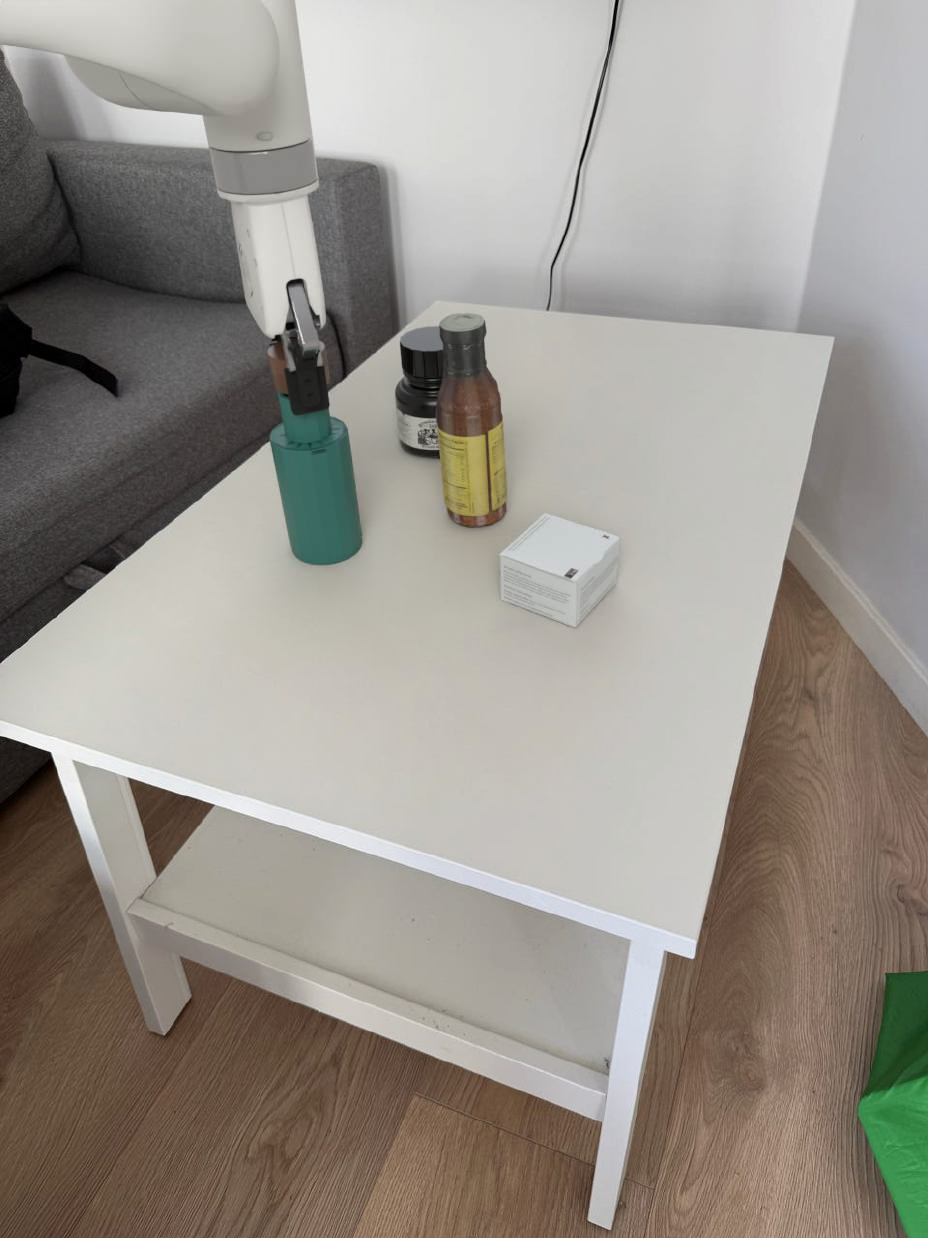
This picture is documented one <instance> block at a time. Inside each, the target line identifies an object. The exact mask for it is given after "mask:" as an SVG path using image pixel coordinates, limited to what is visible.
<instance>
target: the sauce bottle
mask: <svg viewBox="0 0 928 1238" xmlns="http://www.w3.org/2000/svg"><path fill="white" fill-rule="evenodd" d="M486 324H487V323H486V319H485V318H484V317H483V316H482V315H479V314H478V313H477V314H476V313H471V312H464V313H459V312H458V313H452V314H449V315H446V316H445V317H443V318H442V319H441V320H440V322H439V324H438V326H439V328H440V338H441V341H442V342H443V353H444V374H443V379H442V384H441V387H440V390H439V392H438V396H437V405H436V423H437V432H438V441H439V451H440V457H439V461H440V469H441V470H440V471H441V482H442V491H443V492H442V493H443V500H444V505H445V507H446V510H447V515H448V517H449V518H450V519H451V520H452V521H453V522H455V523H456V524H459V525H461V526H464V527H467V528H468V527H469V528H477V527H485V526H490V525H493V524H494V523H497V522H499V521H500V520H501V519H502V518H503V517H504V516H505V514H506V512H507V498H508V489H507V488H508V487H507V471H506V470H507V469H506V454H505V451H506V450H505V436H504V435H505V434H504V417H503V416H504V415H503V413H502V398H501V393H500V391H499V386H498V381H497V380H496V379H495V377H494V376H493V375H492V374H493V373H491V371H490V369H489V368H488V366H487V365H488V363H487V359H486V344H485V338H486V335H487V326H486Z"/></svg>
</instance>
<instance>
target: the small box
mask: <svg viewBox="0 0 928 1238" xmlns="http://www.w3.org/2000/svg"><path fill="white" fill-rule="evenodd" d="M621 539H622V538H621V537H620V536H618V535H616V534H613V533H611V532H608V531H604V530H601V529H598V528H595V527H591V526H588V525H584V524H582V523H578V522H575V521H572V520H569V519H565V518H562V517H559V516H557V515H553V514H550V513H547V512H544V513H542V514H541V515H540V516H539V517H538V518H537V519H536V520H535V521H534V522H532V524H530V526H528V527H527V528H526V529H525V530H524V531H523V532H521V534H520V535H518V536H517V537H516V539H514V540H513V541H512V542H511V543H509V545H508V546H506V547H505V548H504V549H503V550H502V551H501V552H500V553H499V554H498V555H499V591H500V592H499V593H500V594H499V595H500V600H501V601H503V602H506V603H509V604H511V605H513V606H516V607H519V608H521V609H524V610H527V611H530V612H532V613H535V614H537V615H539V616H543V617H545V618H548V619H550V620H553V621H556V622H558V623H561V624H564V625H566V626H569V627H572V628H577V627H578V626H579V624H580V623H582V622H583V620H584V619H586V617H587V616H588V615H589V614H590V613H591V612H592V610H593V609H595V607H596V606H597V605H598V604H599V603H600V602H601V601H602V600H603V598H604V597H605V596H606V595H607V594H608V593H609V592H610V591H611V589H613V587H614V586H615V585H616V584H617V583H618V577H619V568H620V567H619V566H620V555H621V553H620V552H621V542H622V541H621Z"/></svg>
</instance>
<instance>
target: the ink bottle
mask: <svg viewBox="0 0 928 1238" xmlns="http://www.w3.org/2000/svg"><path fill="white" fill-rule="evenodd" d="M399 349H400V360H401V361H400V362H401V369H402V374H403V377H402V378H401V379H400V380H399V381H398V383H397V384H396V387H395V390H394V398H395V400H394V401H395V413H396V422H397V423H396V425H397V434H398V440H399V443H400V445H401V447H402V448H403V449H404V450H405V451H406V452H408V453H410V454H412V455H416V456H419V457H425V458H427V457H428V458H440V451H439V441H438V432H437V423H436V405H437V396H438V392H439V390H440V387H441V384H442V379H443V374H444V353H443V342H442V341H441V338H440V328H439V325H436V326H435V325H433V326H429V325H427V326H423V327H417V328H414V329H411V330H409V331H406V332H405V333H404V334H403V335H401V336H400V340H399Z"/></svg>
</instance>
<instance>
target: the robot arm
mask: <svg viewBox="0 0 928 1238" xmlns="http://www.w3.org/2000/svg"><path fill="white" fill-rule="evenodd" d="M0 45H1V46H7V47H8V46H9V47H15V48H24V49H31V50H35V51H36V50H37V51H42V52H48V53H52V54H57V55H61V56H63V57H64V58H65V59H64V60H65V61H66V64H67V65H68V67H69V69H70V71H72V73H73V75H74V76H75V77H76V78H77V80H78V81H79V82H80V83H81V84H82V85H83V86H84V87H85V88H86V89H88V90H89V91H90V92H91V93H92V94H94V95H95V96H97V97H98V98H100V99H102V100H104V101H106V102H109V103H112V104H114V105H117V106H120V107H123V108H129V109H135V110H144V111H152V112H160V113H161V112H163V113H179V114H186V115H197V116H202V121H203V126H204V131H205V136H206V140H207V141H206V142H207V146H208V151H209V156H210V161H211V166H212V173H213V175H214V181H215V186H216V192H217V195H218V197H219V198H221V199H222V200H226V201H228V202H230V207H231V216H232V223H233V224H232V225H233V231H234V236H235V237H234V238H235V244H236V249H237V256H238V261H239V268H240V275H241V281H242V287H243V294H244V299H245V303H246V306H247V308H248V310H249V312H250V314H251V315H252V317H253V319H254V320H255V322H256V324H257V325H258V327H259V329H260V330H261V332H262V333H263V334H264V336H265V337H267V338H269V340H270V342H271V343H269V344H268V345H269V348H270V347H271V346H272V345H274V344H276V343H278V342H281V341H282V344H283V349H284V353H285V358H286V363H287V367H288V368H284V373H285V378H286V384H287V390H288V395H289V401H290V407H291V411H292V413H293V414H294V415H296V416H297V415H302V414H307V413H312V412H317V411H322V410H326V409H328V408H329V409H330V405H331V403H330V397H329V390H328V384H327V382H326V376H325V369H324V363H323V360H322V355H321V349H320V344H319V341H320V340H319V336H318V330H319V331H321V330H322V329H323V328H324V327H325V325H326V323H327V313H326V302H325V301H326V300H325V295H324V287H323V280H322V274H321V267H320V266H321V265H320V259H319V254H318V247H317V242H316V237H315V229H314V222H313V220H312V212H311V208H310V204H309V197H308V194H311V193H313V192H314V191H316V190H318V189H319V187H320V179H319V174H318V173H319V172H318V165H317V157H316V151H315V150H316V149H315V142H314V136H313V127H312V120H311V119H312V118H311V112H310V111H311V110H310V104H309V98H308V90H307V82H306V75H305V74H306V73H305V67H304V60H303V51H302V45H301V37H300V29H299V20H298V12H297V4H296V0H0ZM294 338H298V344H295V345H294V349H293V350H292V345H291V340H290V339H294Z"/></svg>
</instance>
